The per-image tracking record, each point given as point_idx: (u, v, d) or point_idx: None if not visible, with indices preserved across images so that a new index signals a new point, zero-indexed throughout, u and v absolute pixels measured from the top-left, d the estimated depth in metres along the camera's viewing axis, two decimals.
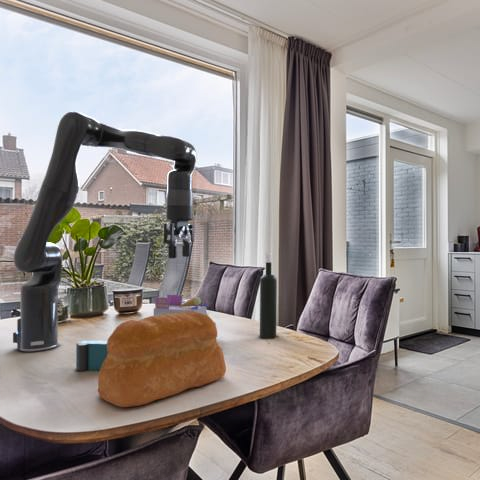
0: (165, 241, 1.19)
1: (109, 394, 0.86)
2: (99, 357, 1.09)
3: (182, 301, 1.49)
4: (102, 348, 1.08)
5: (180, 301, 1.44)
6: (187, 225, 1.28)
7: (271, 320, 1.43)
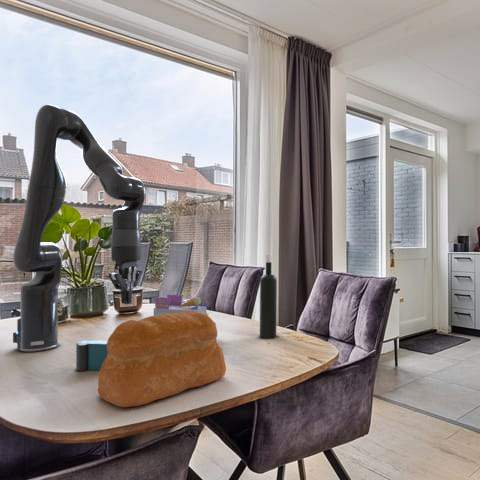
0: (117, 288, 1.17)
1: (109, 394, 0.86)
2: (99, 357, 1.09)
3: (182, 301, 1.49)
4: (102, 348, 1.08)
5: (180, 301, 1.44)
6: (135, 264, 1.23)
7: (271, 320, 1.43)
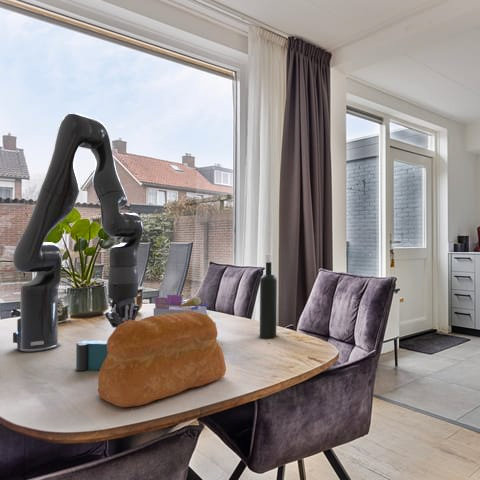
0: (114, 326, 1.16)
1: (109, 394, 0.86)
2: (99, 357, 1.09)
3: (182, 301, 1.49)
4: (102, 348, 1.08)
5: (180, 301, 1.44)
6: (133, 301, 1.22)
7: (271, 320, 1.43)
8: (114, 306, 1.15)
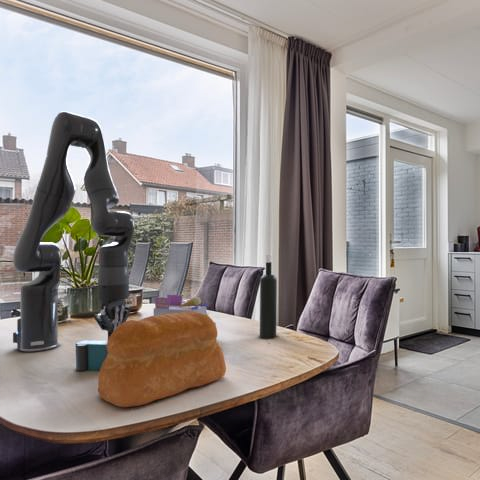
0: (103, 329, 1.12)
1: (109, 394, 0.86)
2: (99, 357, 1.08)
3: (182, 301, 1.49)
4: (101, 348, 1.08)
5: (180, 301, 1.44)
6: (123, 302, 1.17)
7: (271, 320, 1.43)
8: (103, 308, 1.11)
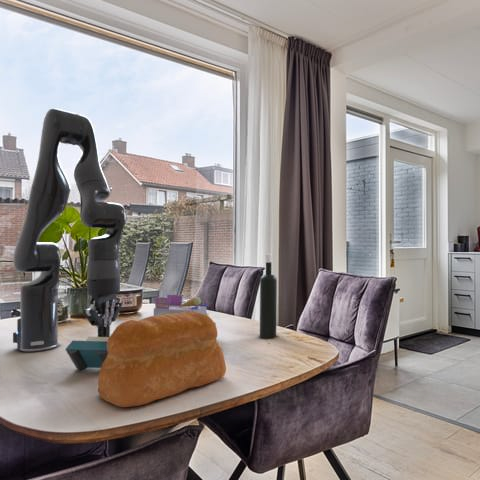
0: (93, 325, 1.08)
1: (109, 394, 0.86)
2: (94, 359, 1.07)
3: (182, 301, 1.49)
4: (93, 353, 1.05)
5: (180, 301, 1.44)
6: (114, 297, 1.13)
7: (271, 320, 1.43)
8: (93, 303, 1.07)
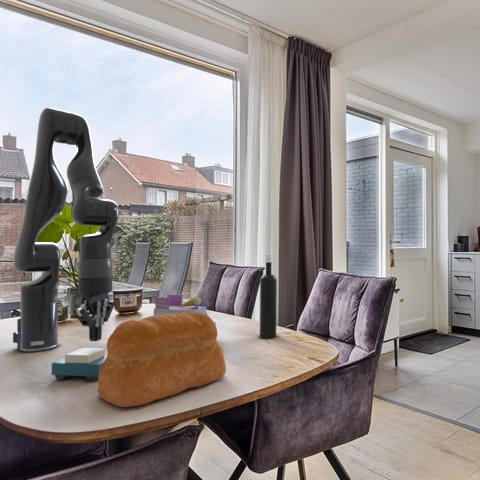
0: (84, 325, 1.04)
1: (109, 394, 0.86)
2: None
3: (182, 301, 1.49)
4: None
5: (180, 301, 1.44)
6: (106, 296, 1.10)
7: (271, 320, 1.43)
8: (84, 302, 1.03)
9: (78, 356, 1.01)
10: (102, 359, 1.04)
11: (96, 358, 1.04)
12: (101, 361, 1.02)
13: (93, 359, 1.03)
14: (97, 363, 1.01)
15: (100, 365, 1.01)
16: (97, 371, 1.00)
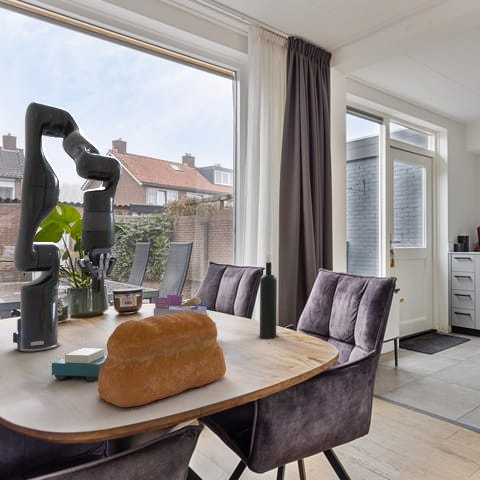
0: (87, 276, 1.08)
1: (109, 394, 0.86)
2: None
3: (182, 301, 1.49)
4: None
5: (180, 301, 1.44)
6: (109, 251, 1.13)
7: (271, 320, 1.43)
8: (87, 254, 1.06)
9: (78, 356, 1.01)
10: (102, 359, 1.04)
11: (96, 358, 1.04)
12: (101, 361, 1.02)
13: (93, 359, 1.03)
14: (97, 363, 1.01)
15: (100, 365, 1.01)
16: (97, 371, 1.00)
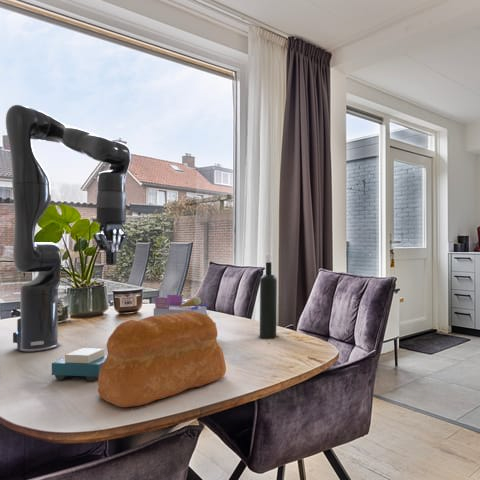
0: (102, 249, 1.19)
1: (109, 394, 0.86)
2: None
3: (182, 301, 1.49)
4: None
5: (180, 301, 1.44)
6: (121, 227, 1.25)
7: (271, 320, 1.43)
8: (102, 229, 1.18)
9: (78, 356, 1.01)
10: (102, 359, 1.04)
11: (96, 358, 1.04)
12: (101, 361, 1.02)
13: (93, 359, 1.03)
14: (97, 363, 1.01)
15: (100, 365, 1.01)
16: (97, 371, 1.00)
